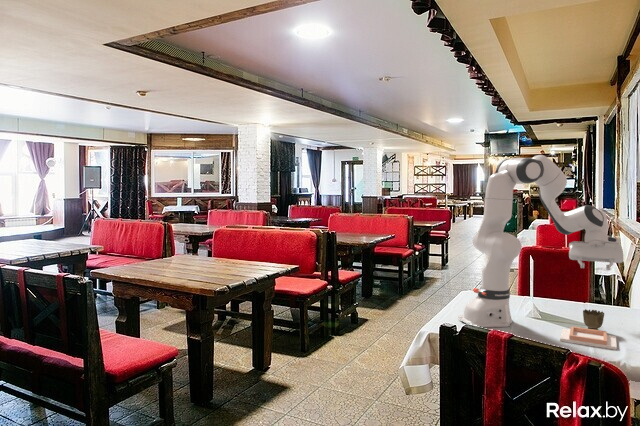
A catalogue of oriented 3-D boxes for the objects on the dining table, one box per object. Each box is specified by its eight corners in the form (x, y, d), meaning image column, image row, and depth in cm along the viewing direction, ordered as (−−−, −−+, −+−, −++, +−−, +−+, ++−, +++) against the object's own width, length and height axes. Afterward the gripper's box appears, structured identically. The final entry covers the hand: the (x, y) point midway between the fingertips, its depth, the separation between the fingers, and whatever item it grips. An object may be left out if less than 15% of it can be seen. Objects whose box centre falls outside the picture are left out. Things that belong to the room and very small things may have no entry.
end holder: (616, 349, 164) (616, 343, 164) (560, 341, 174) (560, 334, 173) (615, 338, 175) (615, 332, 175) (562, 330, 185) (562, 324, 184)
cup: (584, 326, 189) (584, 307, 188) (604, 330, 184) (605, 311, 184) (580, 331, 183) (581, 312, 183) (602, 335, 179) (602, 315, 178)
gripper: (569, 236, 205) (567, 262, 198) (623, 239, 195) (623, 266, 187) (569, 245, 209) (567, 270, 202) (622, 248, 199) (623, 274, 191)
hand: (595, 268), depth 194 cm, fingers open, 8 cm apart
